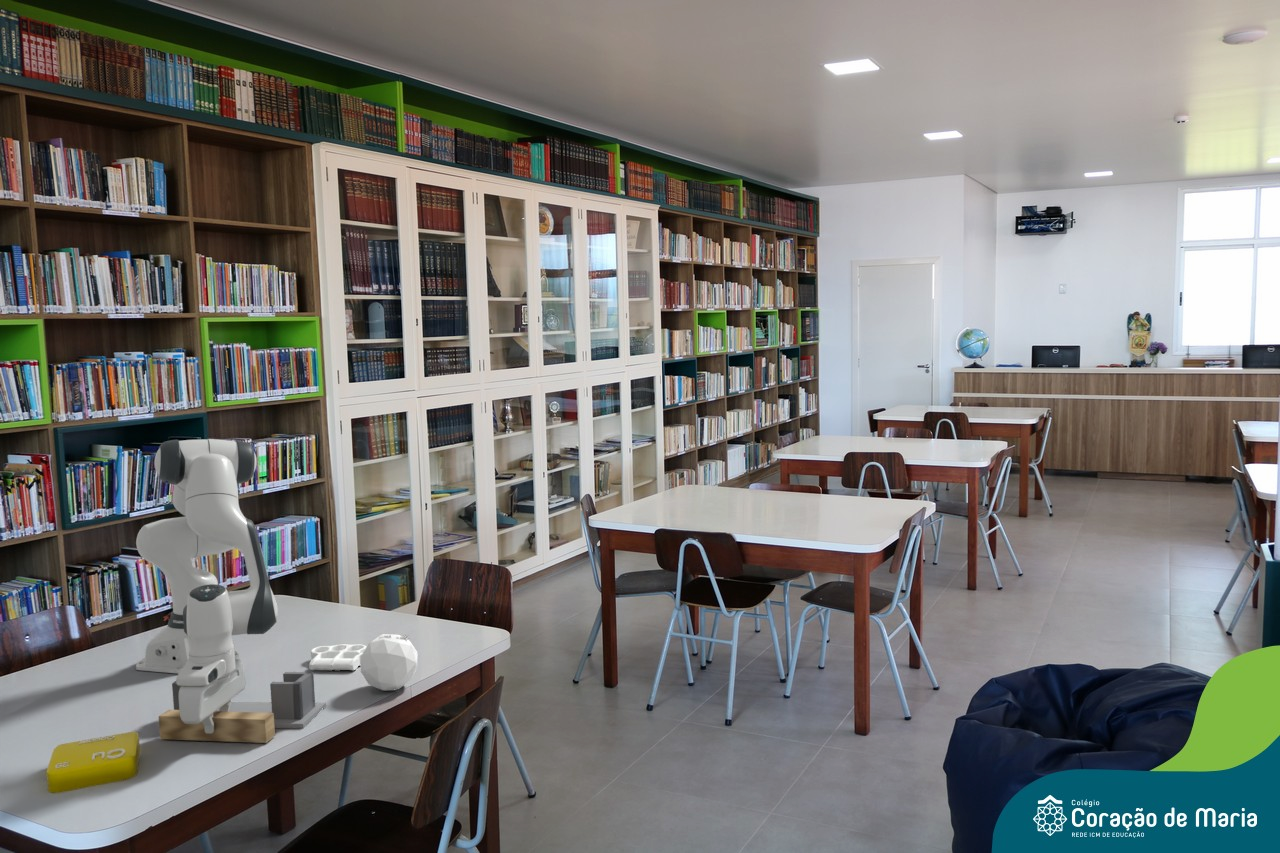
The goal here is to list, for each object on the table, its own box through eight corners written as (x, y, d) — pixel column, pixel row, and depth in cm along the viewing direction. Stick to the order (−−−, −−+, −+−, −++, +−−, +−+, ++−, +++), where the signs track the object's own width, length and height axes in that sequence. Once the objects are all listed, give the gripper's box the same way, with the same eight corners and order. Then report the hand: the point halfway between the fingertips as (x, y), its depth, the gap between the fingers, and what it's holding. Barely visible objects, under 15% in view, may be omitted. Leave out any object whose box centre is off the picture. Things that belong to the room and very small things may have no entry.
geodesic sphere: (429, 650, 239) (392, 611, 235) (438, 667, 226) (399, 627, 222) (383, 691, 236) (346, 653, 232) (390, 710, 223) (350, 670, 219)
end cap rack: (162, 726, 209) (159, 687, 209) (192, 705, 221) (189, 668, 221) (303, 728, 207) (300, 687, 206) (326, 706, 219) (323, 668, 218)
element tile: (140, 749, 199) (138, 727, 198) (137, 779, 185) (135, 755, 185) (56, 765, 192) (54, 742, 192) (46, 796, 179) (44, 772, 178)
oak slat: (160, 738, 202) (158, 716, 202) (170, 732, 206) (168, 709, 205) (266, 742, 199) (264, 719, 198) (275, 735, 202) (273, 713, 202)
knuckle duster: (297, 673, 243) (322, 654, 257) (365, 674, 241) (386, 654, 255) (296, 660, 242) (321, 642, 257) (365, 661, 240) (386, 642, 255)
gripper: (223, 647, 211) (227, 707, 213) (170, 680, 191) (175, 747, 192) (251, 647, 211) (255, 708, 212) (201, 681, 190) (205, 747, 192)
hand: (217, 727), depth 202 cm, fingers closed on oak slat, 4 cm apart
